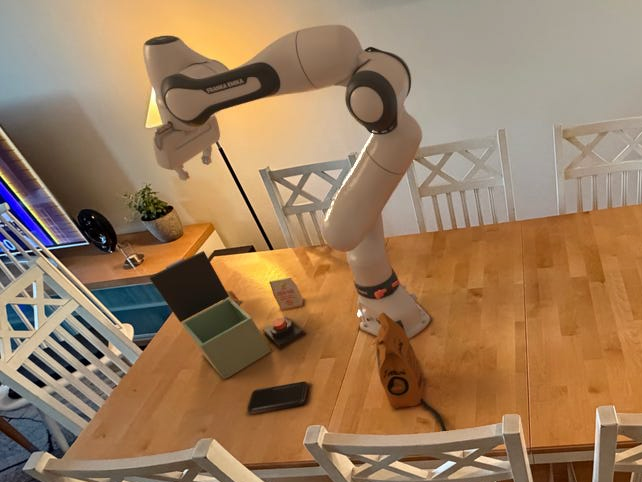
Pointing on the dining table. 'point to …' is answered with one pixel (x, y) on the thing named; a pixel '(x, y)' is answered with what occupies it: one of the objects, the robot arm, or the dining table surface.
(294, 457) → the dining table surface
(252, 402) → the phone
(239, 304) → the lion figurine
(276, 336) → the block
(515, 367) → the dining table surface
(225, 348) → the green box
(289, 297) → the printed card box
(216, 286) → the lid
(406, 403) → the coffee package
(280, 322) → the button
